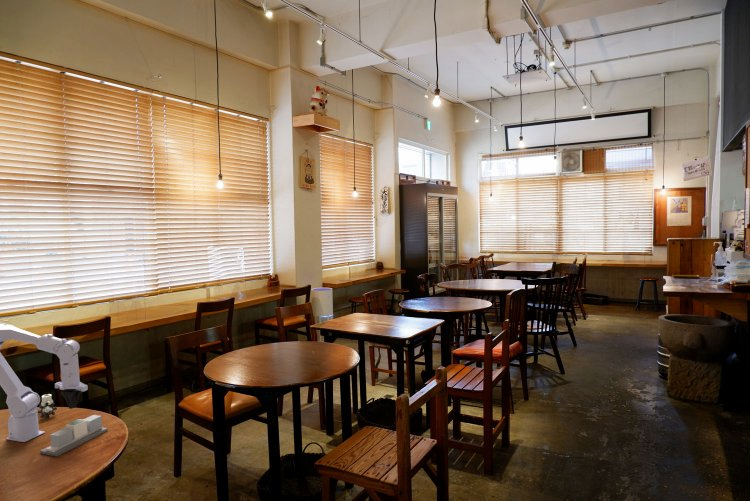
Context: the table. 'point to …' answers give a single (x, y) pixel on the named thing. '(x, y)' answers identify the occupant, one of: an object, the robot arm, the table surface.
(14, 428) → the robot arm
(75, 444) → the board
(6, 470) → the table surface
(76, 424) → the cream module
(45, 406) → the valve
